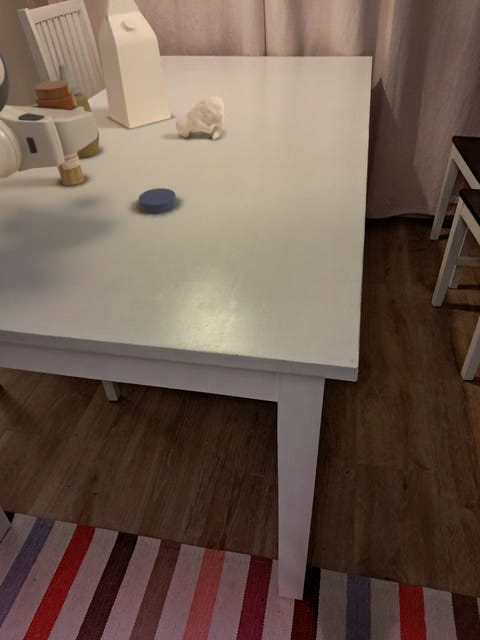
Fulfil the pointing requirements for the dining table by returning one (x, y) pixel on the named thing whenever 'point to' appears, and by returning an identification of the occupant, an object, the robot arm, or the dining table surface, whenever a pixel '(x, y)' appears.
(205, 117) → the white lumpy piece
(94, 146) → the squeeze bottle
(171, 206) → the lid
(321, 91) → the dining table surface
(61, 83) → the jar
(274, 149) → the dining table surface
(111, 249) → the dining table surface
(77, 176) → the sprinkles bottle
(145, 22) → the milk
